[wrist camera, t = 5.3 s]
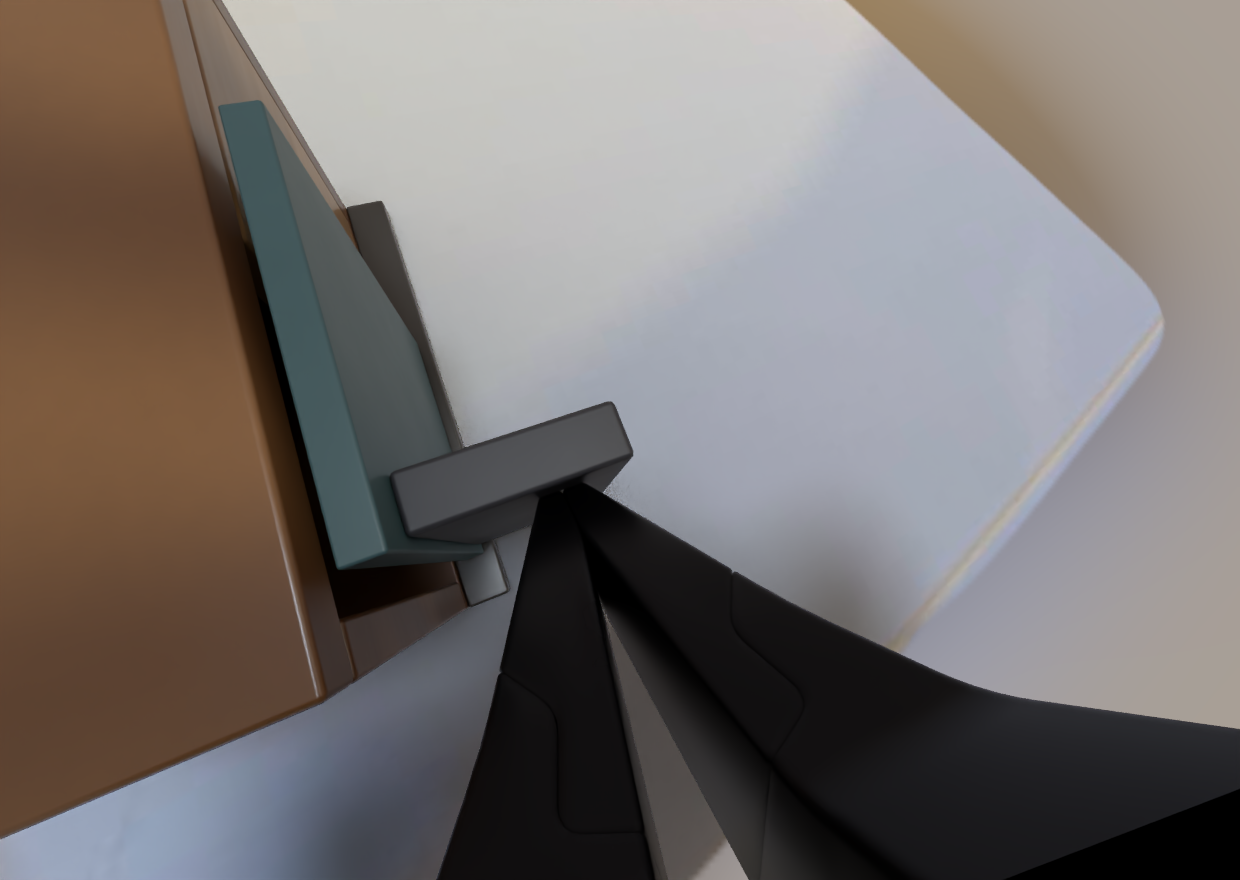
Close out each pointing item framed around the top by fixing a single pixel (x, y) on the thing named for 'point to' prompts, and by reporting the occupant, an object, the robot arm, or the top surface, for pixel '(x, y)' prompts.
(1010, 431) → the top surface
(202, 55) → the cupboard
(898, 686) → the robot arm
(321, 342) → the sliding door
